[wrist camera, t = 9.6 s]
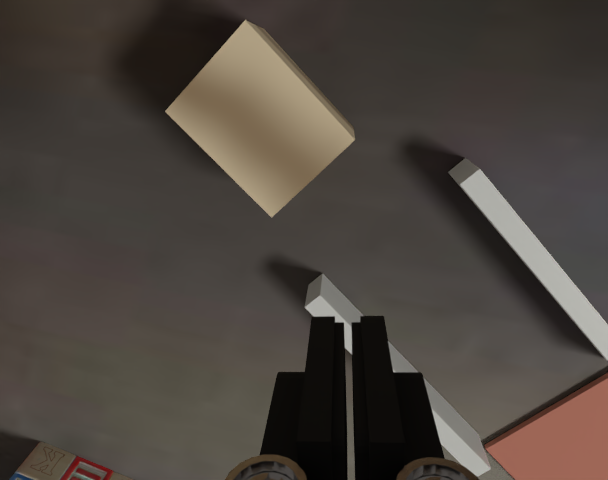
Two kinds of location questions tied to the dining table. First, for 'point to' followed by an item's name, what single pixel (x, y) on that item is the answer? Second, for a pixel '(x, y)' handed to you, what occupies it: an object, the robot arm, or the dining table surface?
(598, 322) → the channel
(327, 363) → the robot arm
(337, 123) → the maple block
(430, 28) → the dining table surface
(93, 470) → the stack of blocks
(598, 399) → the pad
